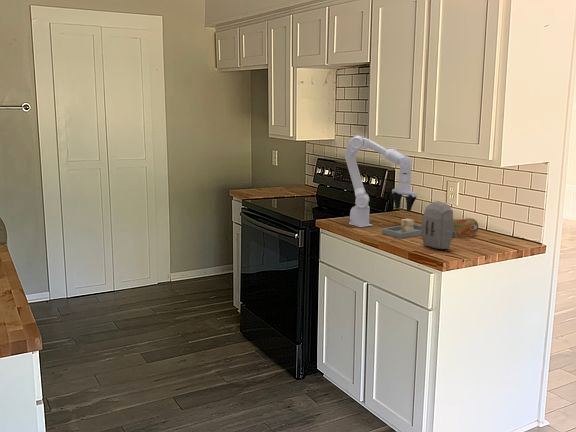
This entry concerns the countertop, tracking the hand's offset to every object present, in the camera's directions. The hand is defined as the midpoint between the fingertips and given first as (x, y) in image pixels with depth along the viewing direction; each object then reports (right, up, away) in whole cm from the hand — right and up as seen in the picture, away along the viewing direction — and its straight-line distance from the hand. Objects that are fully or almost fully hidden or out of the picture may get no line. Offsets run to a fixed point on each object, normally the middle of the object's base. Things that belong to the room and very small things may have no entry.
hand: (403, 209), depth 276 cm
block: (0, -11, -11) cm, 16 cm away
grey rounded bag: (+6, -17, -37) cm, 41 cm away
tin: (+24, -13, -15) cm, 31 cm away
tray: (-1, -11, -11) cm, 16 cm away
